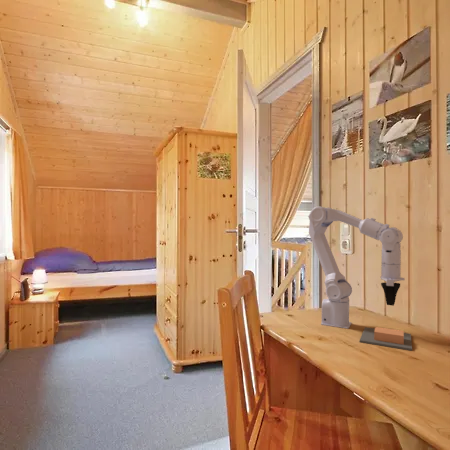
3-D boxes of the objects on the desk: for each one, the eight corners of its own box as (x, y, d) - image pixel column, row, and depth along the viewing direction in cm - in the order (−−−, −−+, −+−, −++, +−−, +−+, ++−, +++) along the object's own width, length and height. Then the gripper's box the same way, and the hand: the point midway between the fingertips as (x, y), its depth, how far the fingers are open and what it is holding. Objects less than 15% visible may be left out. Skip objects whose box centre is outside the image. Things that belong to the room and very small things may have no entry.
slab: (375, 334, 107) (374, 339, 102) (375, 326, 107) (374, 331, 102) (403, 338, 103) (403, 344, 98) (403, 330, 103) (403, 336, 98)
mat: (359, 342, 101) (359, 340, 101) (364, 328, 115) (364, 327, 115) (412, 350, 94) (412, 348, 94) (410, 335, 109) (410, 333, 109)
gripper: (404, 266, 101) (404, 311, 101) (404, 262, 114) (404, 302, 113) (379, 265, 104) (378, 308, 104) (381, 261, 117) (381, 299, 117)
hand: (390, 304), depth 109 cm, fingers closed
